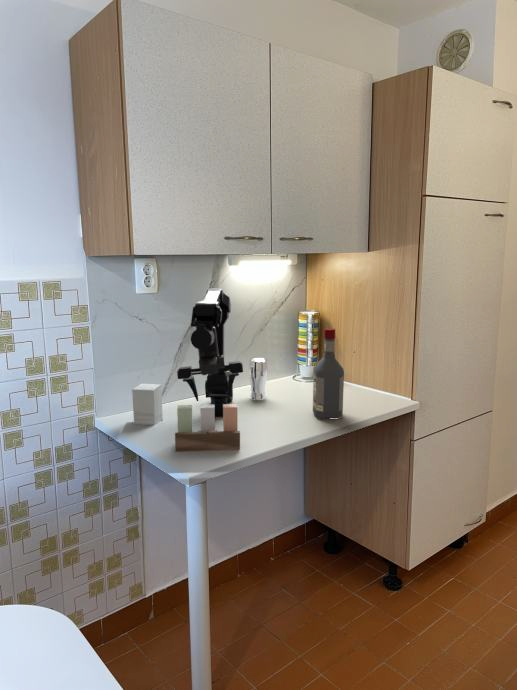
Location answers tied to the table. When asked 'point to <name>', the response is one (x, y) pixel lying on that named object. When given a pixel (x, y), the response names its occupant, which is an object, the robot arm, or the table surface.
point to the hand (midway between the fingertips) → (213, 399)
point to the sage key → (184, 418)
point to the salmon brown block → (230, 417)
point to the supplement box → (147, 404)
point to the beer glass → (258, 378)
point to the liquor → (328, 382)
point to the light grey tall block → (207, 417)
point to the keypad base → (207, 440)
